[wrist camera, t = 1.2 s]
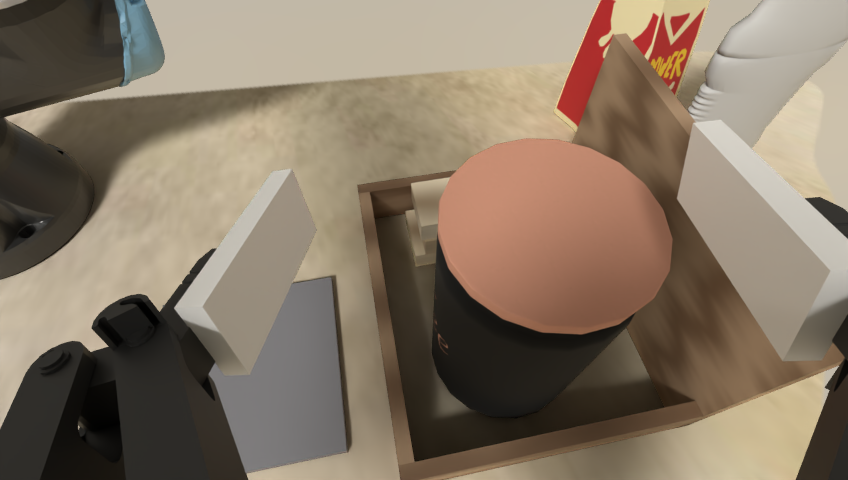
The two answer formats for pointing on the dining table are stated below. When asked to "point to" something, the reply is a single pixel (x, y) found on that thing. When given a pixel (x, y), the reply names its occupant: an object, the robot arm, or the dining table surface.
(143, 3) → the robot arm
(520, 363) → the coffee jar
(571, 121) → the milk carton
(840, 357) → the wooden hinged box
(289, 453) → the charcoal mat
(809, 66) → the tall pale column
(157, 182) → the dining table surface
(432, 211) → the offcut stack
